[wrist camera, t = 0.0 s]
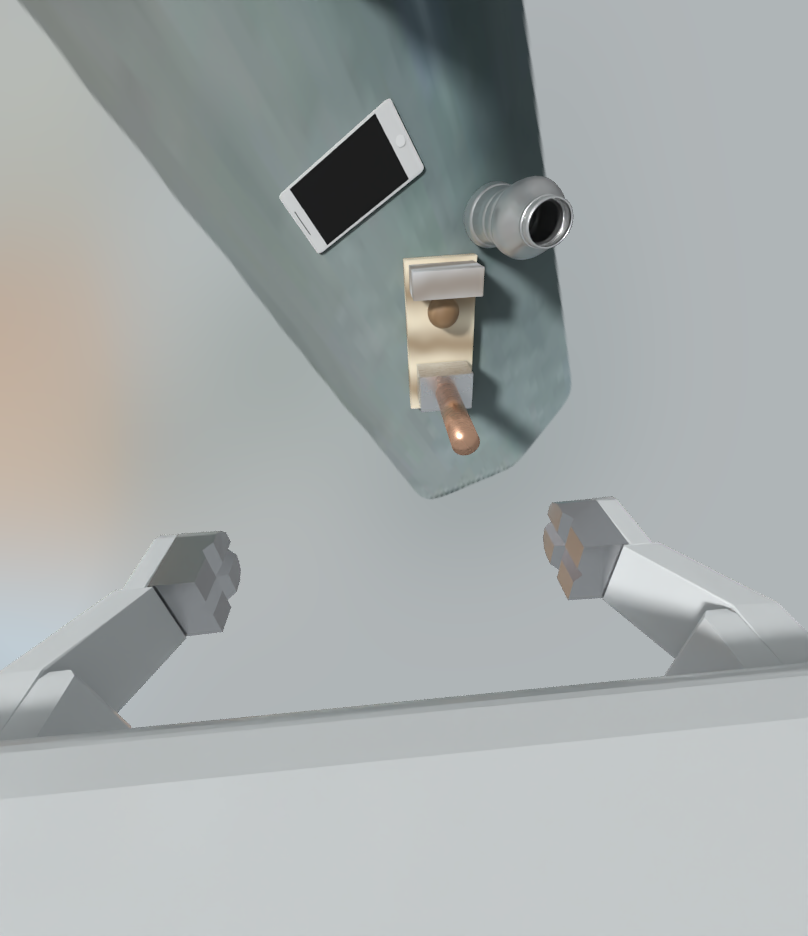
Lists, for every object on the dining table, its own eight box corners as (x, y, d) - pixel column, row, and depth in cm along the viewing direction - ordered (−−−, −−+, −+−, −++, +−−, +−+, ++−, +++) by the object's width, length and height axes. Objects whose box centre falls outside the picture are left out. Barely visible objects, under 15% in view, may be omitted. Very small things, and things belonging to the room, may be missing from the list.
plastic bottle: (452, 200, 46) (496, 200, 29) (506, 169, 44) (585, 152, 28) (470, 255, 49) (519, 284, 33) (521, 229, 48) (598, 244, 32)
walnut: (425, 292, 49) (429, 299, 46) (456, 290, 50) (462, 297, 46) (426, 324, 52) (429, 333, 48) (455, 322, 52) (461, 331, 48)
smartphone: (424, 169, 44) (425, 169, 44) (319, 254, 48) (318, 255, 48) (389, 98, 41) (389, 96, 40) (279, 195, 45) (277, 195, 44)
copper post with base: (416, 364, 54) (432, 425, 40) (465, 360, 55) (500, 419, 40) (417, 396, 57) (433, 465, 43) (464, 393, 57) (496, 460, 43)
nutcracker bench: (403, 258, 49) (407, 267, 42) (473, 253, 49) (489, 261, 43) (410, 403, 60) (415, 427, 54) (467, 398, 61) (479, 422, 54)
